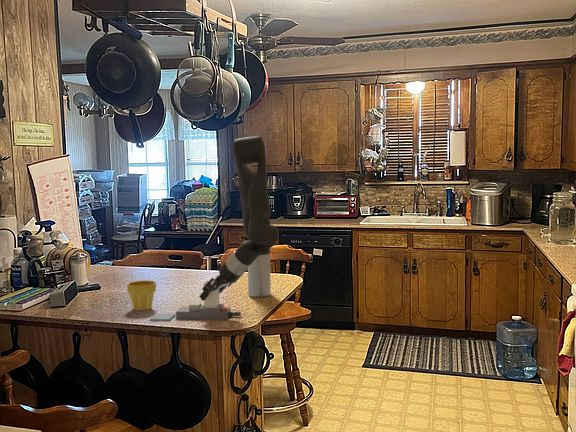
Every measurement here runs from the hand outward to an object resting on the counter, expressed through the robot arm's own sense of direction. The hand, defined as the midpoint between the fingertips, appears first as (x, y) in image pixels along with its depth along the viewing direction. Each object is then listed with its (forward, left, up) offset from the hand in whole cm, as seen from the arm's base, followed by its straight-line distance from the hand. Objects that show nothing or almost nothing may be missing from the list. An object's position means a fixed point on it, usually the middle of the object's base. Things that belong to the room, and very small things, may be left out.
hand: (208, 296), depth 201 cm
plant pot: (-9, -28, -7) cm, 30 cm away
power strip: (+1, 0, -7) cm, 7 cm away
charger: (+1, +1, -5) cm, 5 cm away
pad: (+4, -16, -7) cm, 18 cm away
